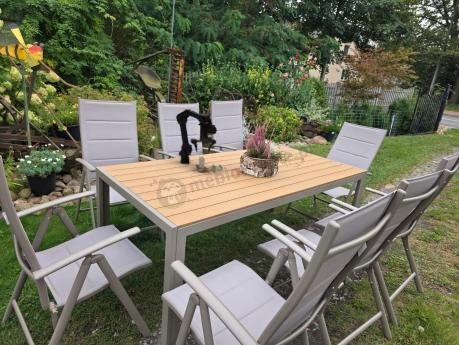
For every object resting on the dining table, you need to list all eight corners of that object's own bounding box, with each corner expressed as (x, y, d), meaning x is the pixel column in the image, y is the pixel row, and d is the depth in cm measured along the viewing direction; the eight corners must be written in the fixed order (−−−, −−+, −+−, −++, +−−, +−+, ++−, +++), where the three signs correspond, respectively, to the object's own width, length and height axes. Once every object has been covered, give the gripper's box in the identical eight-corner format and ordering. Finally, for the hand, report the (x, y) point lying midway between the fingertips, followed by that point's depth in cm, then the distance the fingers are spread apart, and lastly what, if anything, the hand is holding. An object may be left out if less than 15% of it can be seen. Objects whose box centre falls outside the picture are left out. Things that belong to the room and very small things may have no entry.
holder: (214, 170, 227) (214, 167, 226) (211, 166, 235) (211, 163, 234) (223, 170, 229) (224, 167, 229) (220, 166, 238) (220, 163, 237)
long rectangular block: (200, 170, 225) (200, 158, 222) (198, 167, 230) (199, 156, 228) (204, 170, 226) (204, 158, 223) (202, 167, 231) (202, 156, 229)
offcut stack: (198, 173, 218) (198, 170, 218) (197, 171, 221) (198, 168, 221) (209, 173, 221) (209, 170, 220) (208, 171, 224) (208, 168, 223)
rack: (198, 171, 222) (199, 169, 222) (195, 166, 232) (195, 164, 231) (206, 170, 224) (206, 169, 224) (203, 166, 234) (203, 164, 233)
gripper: (194, 133, 209) (192, 155, 214) (219, 134, 216) (217, 155, 220) (190, 130, 219) (189, 151, 224) (214, 131, 226) (213, 151, 230)
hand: (202, 152), depth 224 cm, fingers open, 9 cm apart
